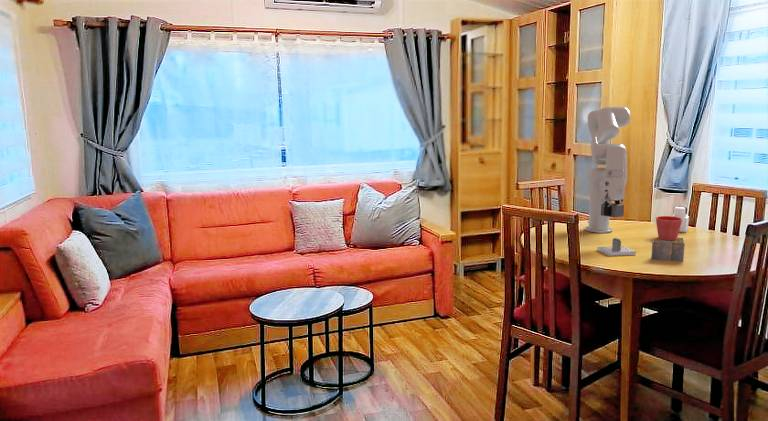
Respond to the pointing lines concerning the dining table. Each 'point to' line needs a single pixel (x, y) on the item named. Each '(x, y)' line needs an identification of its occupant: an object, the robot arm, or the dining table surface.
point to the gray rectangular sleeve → (614, 210)
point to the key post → (616, 249)
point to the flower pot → (668, 227)
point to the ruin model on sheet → (668, 250)
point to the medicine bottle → (681, 213)
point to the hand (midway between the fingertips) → (612, 214)
